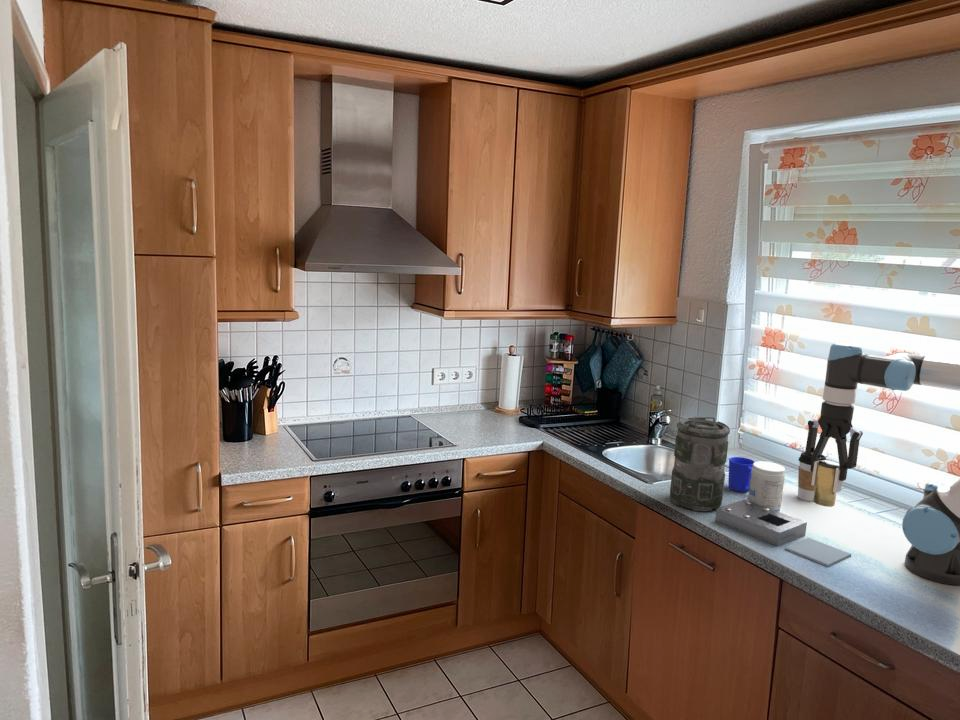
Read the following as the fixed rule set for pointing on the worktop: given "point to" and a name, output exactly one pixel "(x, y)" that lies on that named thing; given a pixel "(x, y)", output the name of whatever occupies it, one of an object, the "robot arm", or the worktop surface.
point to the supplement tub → (767, 484)
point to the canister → (699, 464)
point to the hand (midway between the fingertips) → (825, 487)
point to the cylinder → (825, 483)
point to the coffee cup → (806, 478)
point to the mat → (818, 552)
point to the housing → (761, 522)
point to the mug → (740, 473)
